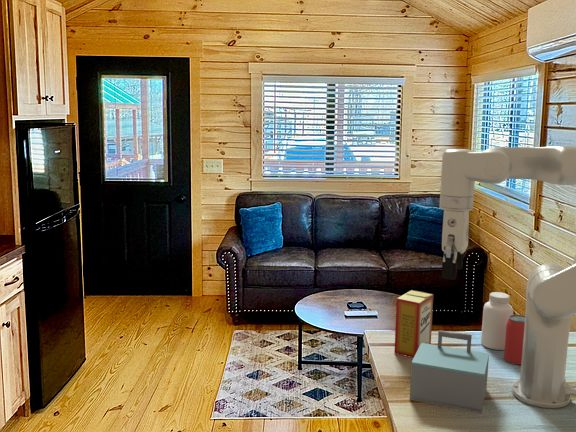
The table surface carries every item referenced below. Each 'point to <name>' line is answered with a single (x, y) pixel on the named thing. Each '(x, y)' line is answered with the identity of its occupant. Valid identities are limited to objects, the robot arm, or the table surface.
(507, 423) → the table surface
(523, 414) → the table surface
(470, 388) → the carton
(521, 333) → the beer can
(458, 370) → the lid
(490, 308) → the pill bottle
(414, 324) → the baking soda box
